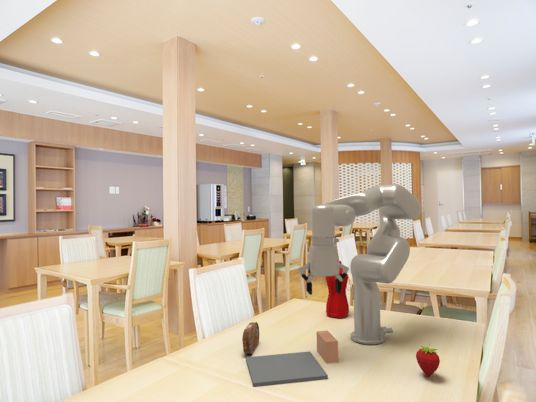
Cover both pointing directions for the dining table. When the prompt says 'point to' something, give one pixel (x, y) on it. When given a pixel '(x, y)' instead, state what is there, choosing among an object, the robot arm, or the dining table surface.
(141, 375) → the dining table surface
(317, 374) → the mat
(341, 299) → the water bottle
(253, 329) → the brown rounded slab
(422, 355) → the strawberry
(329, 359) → the card box
